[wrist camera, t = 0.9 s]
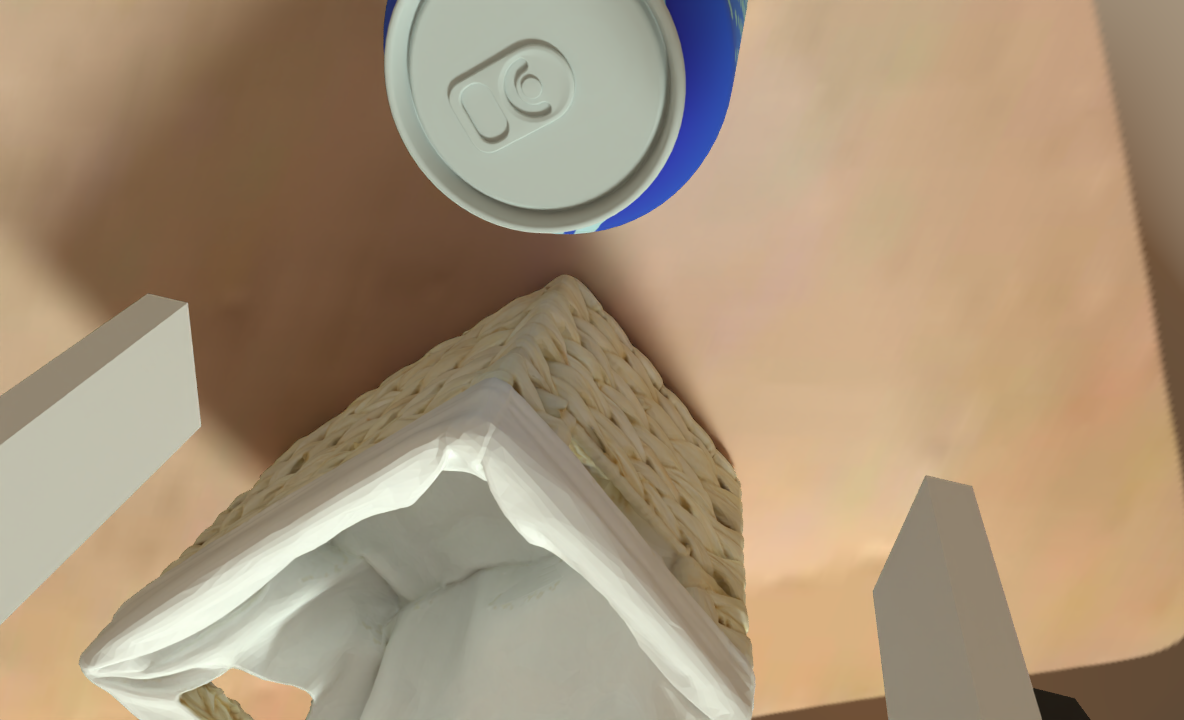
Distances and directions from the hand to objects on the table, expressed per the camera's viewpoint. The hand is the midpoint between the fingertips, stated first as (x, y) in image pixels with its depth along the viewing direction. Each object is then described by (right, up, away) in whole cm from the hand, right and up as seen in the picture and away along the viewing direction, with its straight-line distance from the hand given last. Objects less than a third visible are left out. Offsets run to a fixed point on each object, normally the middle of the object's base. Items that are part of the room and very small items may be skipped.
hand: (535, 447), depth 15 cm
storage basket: (-4, -4, +30) cm, 30 cm away
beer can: (+3, +15, +17) cm, 23 cm away
